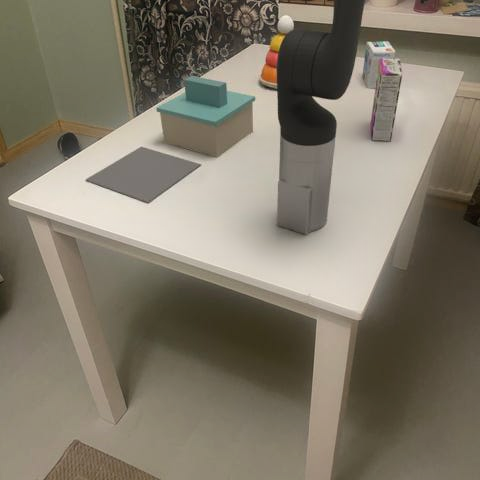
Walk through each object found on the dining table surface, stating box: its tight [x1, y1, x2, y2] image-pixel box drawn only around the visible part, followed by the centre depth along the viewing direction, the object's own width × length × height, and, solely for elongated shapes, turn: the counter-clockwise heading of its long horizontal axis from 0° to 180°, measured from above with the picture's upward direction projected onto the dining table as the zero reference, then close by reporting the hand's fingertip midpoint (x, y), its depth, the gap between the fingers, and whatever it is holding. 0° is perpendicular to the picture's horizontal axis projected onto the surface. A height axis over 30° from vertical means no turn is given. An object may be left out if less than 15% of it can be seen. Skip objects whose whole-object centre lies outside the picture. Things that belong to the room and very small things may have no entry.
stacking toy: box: [258, 14, 295, 90], centre depth 140 cm, size 14×14×20 cm
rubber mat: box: [85, 146, 202, 204], centre depth 104 cm, size 18×18×1 cm
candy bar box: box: [370, 58, 403, 143], centre depth 112 cm, size 11×5×16 cm, turn 168°
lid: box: [156, 75, 256, 126], centre depth 112 cm, size 17×17×7 cm
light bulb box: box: [361, 40, 396, 89], centre depth 141 cm, size 11×7×11 cm, turn 178°
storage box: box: [159, 102, 254, 158], centre depth 116 cm, size 16×16×8 cm
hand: (403, 1), depth 101 cm, fingers open, 8 cm apart
